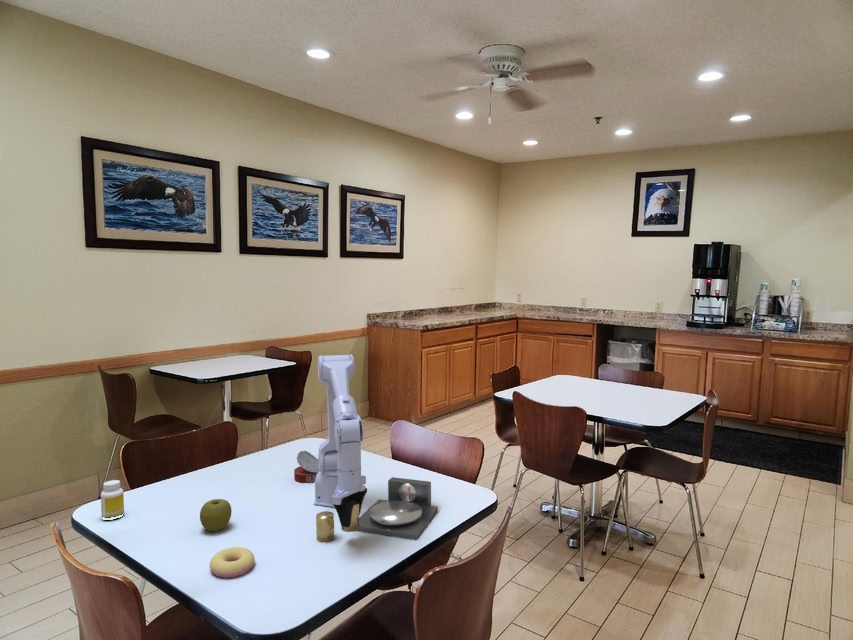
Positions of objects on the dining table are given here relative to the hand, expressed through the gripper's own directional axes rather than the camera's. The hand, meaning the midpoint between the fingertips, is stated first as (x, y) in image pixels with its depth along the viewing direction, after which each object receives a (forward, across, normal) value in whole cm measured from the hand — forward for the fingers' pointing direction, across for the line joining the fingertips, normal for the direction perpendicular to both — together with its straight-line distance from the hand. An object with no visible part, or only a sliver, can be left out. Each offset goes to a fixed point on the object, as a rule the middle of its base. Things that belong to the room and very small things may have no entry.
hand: (350, 521), depth 134 cm
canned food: (+6, +36, +33) cm, 49 cm away
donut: (+6, -19, +20) cm, 28 cm away
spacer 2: (+2, 0, 0) cm, 2 cm away
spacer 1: (+5, 0, +7) cm, 9 cm away
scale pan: (+3, +15, -6) cm, 16 cm away
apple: (+5, -4, +37) cm, 38 cm away
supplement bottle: (+6, -7, +69) cm, 70 cm away
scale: (+5, +16, -6) cm, 18 cm away
